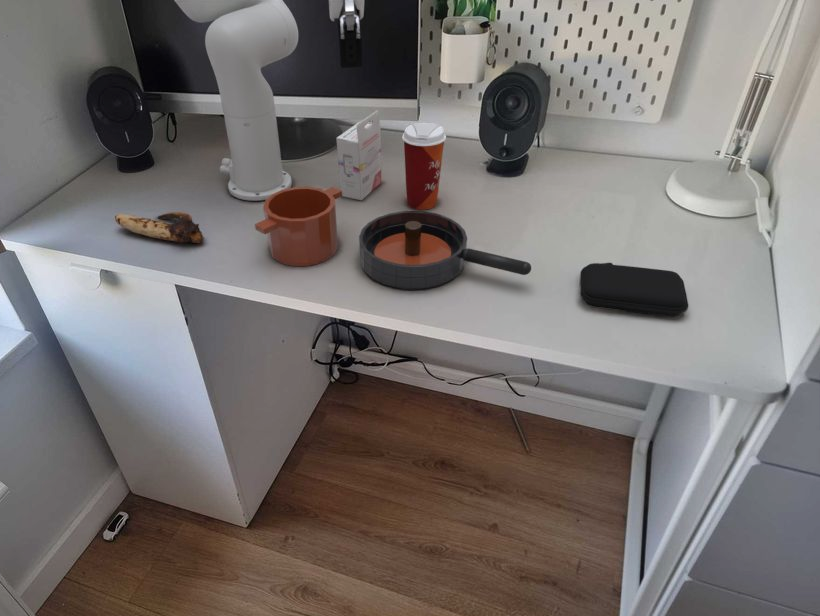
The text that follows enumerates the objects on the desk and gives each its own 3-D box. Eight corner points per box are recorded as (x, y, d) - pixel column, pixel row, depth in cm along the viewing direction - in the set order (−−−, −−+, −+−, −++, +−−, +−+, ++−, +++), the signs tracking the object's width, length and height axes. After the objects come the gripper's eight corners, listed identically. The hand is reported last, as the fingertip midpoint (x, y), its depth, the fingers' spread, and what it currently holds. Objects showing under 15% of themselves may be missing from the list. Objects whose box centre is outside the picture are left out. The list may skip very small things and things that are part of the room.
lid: (358, 259, 106) (357, 226, 102) (408, 230, 112) (409, 198, 108) (416, 289, 99) (417, 255, 95) (466, 256, 105) (469, 223, 101)
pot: (244, 255, 109) (236, 210, 104) (317, 218, 118) (314, 174, 112) (288, 281, 103) (282, 235, 97) (362, 239, 112) (361, 195, 106)
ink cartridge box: (360, 178, 130) (358, 104, 120) (382, 183, 128) (381, 108, 118) (338, 196, 124) (334, 121, 114) (361, 201, 122) (358, 125, 112)
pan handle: (459, 262, 100) (459, 251, 99) (463, 255, 102) (464, 244, 100) (528, 278, 96) (530, 267, 95) (531, 272, 98) (533, 260, 96)
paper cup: (440, 213, 117) (444, 139, 108) (398, 211, 119) (399, 137, 110) (444, 193, 123) (448, 121, 114) (404, 191, 124) (405, 120, 115)
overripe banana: (222, 230, 117) (140, 212, 122) (219, 206, 114) (135, 189, 119) (194, 254, 110) (108, 235, 115) (189, 230, 107) (102, 211, 112)
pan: (341, 275, 104) (340, 251, 101) (387, 225, 115) (387, 202, 112) (440, 302, 97) (442, 277, 94) (479, 246, 108) (482, 223, 105)
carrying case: (678, 280, 99) (578, 269, 102) (684, 263, 97) (582, 253, 100) (686, 322, 91) (578, 309, 94) (693, 305, 89) (582, 292, 92)
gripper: (318, -84, 94) (326, 41, 105) (317, -65, 81) (326, 76, 92) (369, -87, 94) (371, 39, 105) (376, -68, 81) (378, 74, 92)
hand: (350, 56), depth 98 cm, fingers open, 9 cm apart
